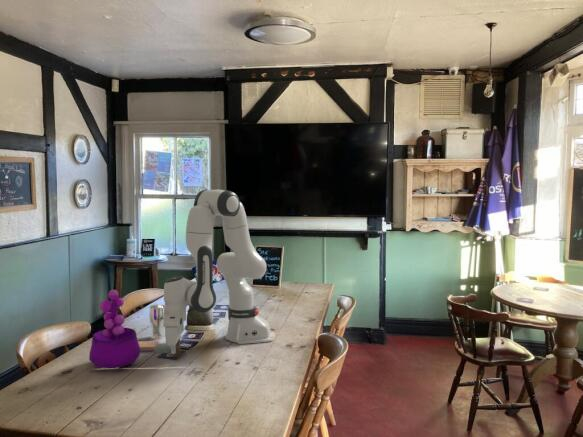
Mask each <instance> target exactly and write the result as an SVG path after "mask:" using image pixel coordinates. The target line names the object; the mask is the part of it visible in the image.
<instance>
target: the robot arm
mask: <svg viewBox="0 0 583 437" xmlns="http://www.w3.org/2000/svg"><path fill="white" fill-rule="evenodd" d="M193 202H194V203H193V206H192V207H191V208H190V210H189V212H188V215H187V220H186V227H185V245H186V248H187V250H188V251H189V253H190V254H191V255H192V257H193V259H194V262H195V265H196V267H195V268H196V281H193V280H190V279H188V278H185V277H184V276H183V275H175V276H172V277H169V278H167V279H166V280H165V282H164V286H163V302H164V306H165V307H164V321H163V326H164V336H165V337H164V338H165V343H166V344H167V346H170V348H171V351H170V355H171V354H175V353H176V344H177V342H178V340H179V338H180V339H181V337H182V334H183V331H184V330H185V329H184V328H185V327H184V326H185V325H184V322H185V321H187V307H188V306H191V307H192V308H193V310H194V311H196V312H197V313H200V314H201V313H202V314H203V313H207V312H210V311H211V310H212V309H213V308H214V306H215V305H216V303H217V295H216V292H215V289H214V283H213V280H214V278H213V276H214V274H213V273H214V272H213V271H214V270H213V264H214V263H213V238H214V220H215V218H216V217H217V216H219V217H220V218H221V223H222V224H221V225H222V230H223V236H224V238H223V239H224V242H225V245H226V246H227V247H228V248H229V249H231V250H232V252H231V251H230V252H228V251H227V252H222V253H221V254H220V255H219V256H218V257H217V259H216V267H217V270H218V272H219V273H220V275H221V276H222V277H223V279H224V281H225V283H226V287H227V290H228V306H229V307H228V309H227V319H228V326H227V331H226V335H225V338H226V340H227V341H230V342H233V343H236V344H238V345H246V344H248V345H249V344H257V343H258V344H259V343H270V342H273V341H274V340H275V339H276V334H275V332H274V331H273V330H271V328H270V324H269V322H268V321H267V320H266V319H265V318H263V317H261V315H259V310H258V309H259V308H258V307H257V306H254V290H253V288H252V287H251V286H250V284H248V282H247V280H259V279H262V278H263V277H264V276H265V274H266V271H267V262H266V260H265V259H264V258H263V257H262V256H261V255H260V254H259V253H258V252H257V250H256V248H255V247H254V244H253V243H252V241H251V237H250V236H251V235H250V231H249V230H250V229H249V225H248V218H247V214H246V211H245V206H244V205H243V203H242V202H241V201H240V198H239V196H238V195H237V194H236V193H235V192H233V191H231V190H225V189H219V188H218V189H203V190H200V191H199V192H198V193H197V194H196V196H195V198H194V201H193Z"/></svg>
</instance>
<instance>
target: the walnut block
mask: <svg viewBox="0 0 583 437" xmlns="http://www.w3.org/2000/svg"><path fill="white" fill-rule="evenodd" d="M180 355H181V338H179V340H178V342H177V344H176V353H175V354H171V353H170V356H171V357H173V358H174V357H176V358H177V357H180Z"/></svg>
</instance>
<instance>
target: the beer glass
mask: <svg viewBox="0 0 583 437" xmlns="http://www.w3.org/2000/svg"><path fill="white" fill-rule="evenodd" d="M164 307H165V304H153V305H150V306H149V313H148V314H149V324H150V329H151V336H150V339H151V340H153V341H159V340H162V339H164V338H166V337H165V327H164V326H163V321H164Z"/></svg>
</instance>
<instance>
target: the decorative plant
mask: <svg viewBox="0 0 583 437" xmlns="http://www.w3.org/2000/svg"><path fill="white" fill-rule="evenodd" d="M119 295H120V293H119V292H118V290H116V289H112V290H109V292H108V294H107V297H108V298H109V299H110V300H112V301H110V300H109V299H105V300H102V301H101V302H100V303H99V304H98V305H99V306H98V308H99V310H100V311H101V312H103V313H104V314H103V320H104V322H103V326H104V328H105V329H102V330H99V331H97V332H95V333H94V334H93V335H92V339H91V345H90V351H89V355H88V356H89V358H88V360H89V361H90V362H91V364H92V365H93V366H95V367H98V368H101V369H117V368H121V367H126V366H128V365H131V364H133V363H134V362H135V361H136V360H137V359H138V358H139V357H140V355H141V354H140V346H139V343H138V341H139V340H138V336H137V331H136V330H135V329H134V328H130V327H124V326H122V325H123V324H124V323H125V320H126V319H125V316H124V315H123V314H118V309H117V308H121V307H122V306H123V305H124V303H125V301H124V299H123V298H122V297H119Z"/></svg>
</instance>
